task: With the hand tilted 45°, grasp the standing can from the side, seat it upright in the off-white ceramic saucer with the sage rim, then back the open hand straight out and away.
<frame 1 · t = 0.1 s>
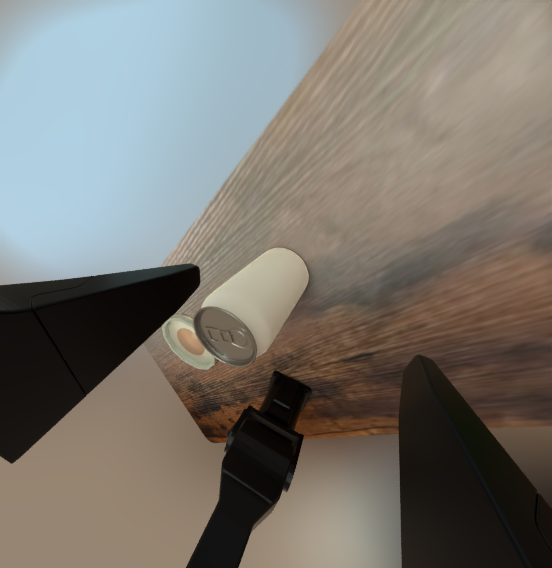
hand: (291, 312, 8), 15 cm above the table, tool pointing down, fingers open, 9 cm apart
can: (284, 271, 26), on the table
saucer: (192, 340, 41), on the table
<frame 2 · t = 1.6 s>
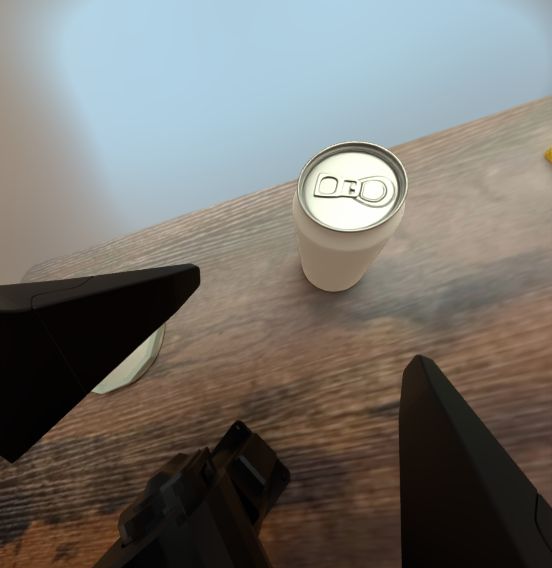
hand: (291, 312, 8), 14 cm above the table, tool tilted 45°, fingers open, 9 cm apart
can: (332, 263, 23), on the table
saucer: (118, 333, 25), on the table
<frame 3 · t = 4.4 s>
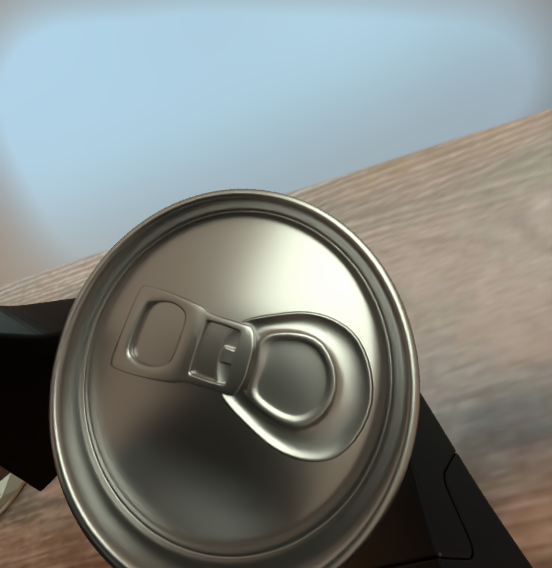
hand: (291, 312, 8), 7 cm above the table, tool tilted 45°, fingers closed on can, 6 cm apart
can: (292, 344, 15), on the table, touching gripper
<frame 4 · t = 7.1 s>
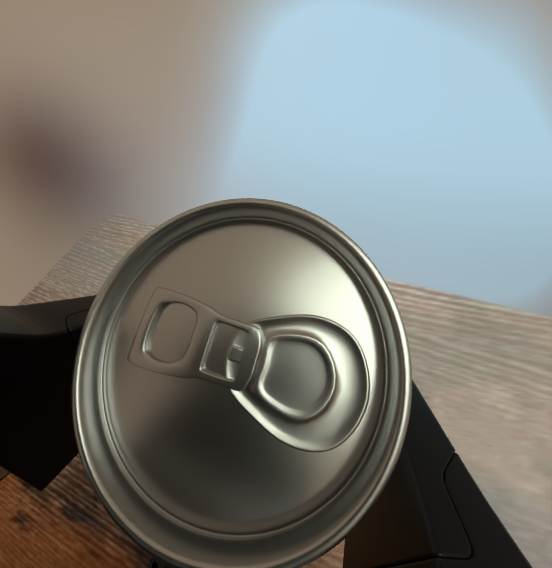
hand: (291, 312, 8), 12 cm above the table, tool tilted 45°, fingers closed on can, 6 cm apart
can: (293, 342, 15), point 5 cm above the table, touching gripper
when the fingers open (8 cm above the table, at t = 9.8 s): can stays where it is, resting on saucer.
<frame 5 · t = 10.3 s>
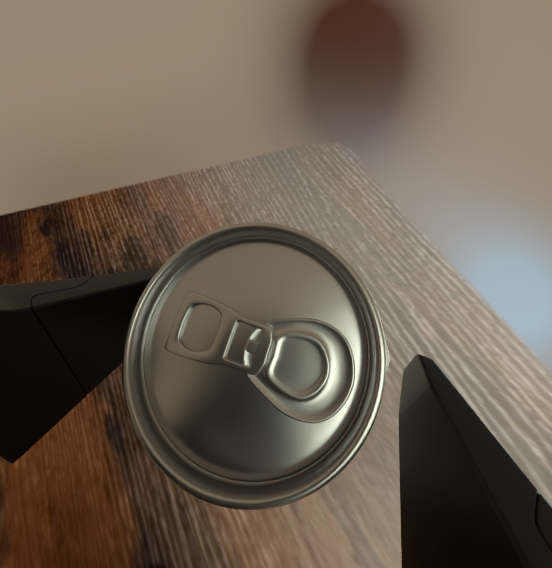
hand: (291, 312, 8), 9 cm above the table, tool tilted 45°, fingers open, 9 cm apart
can: (294, 341, 16), resting on saucer
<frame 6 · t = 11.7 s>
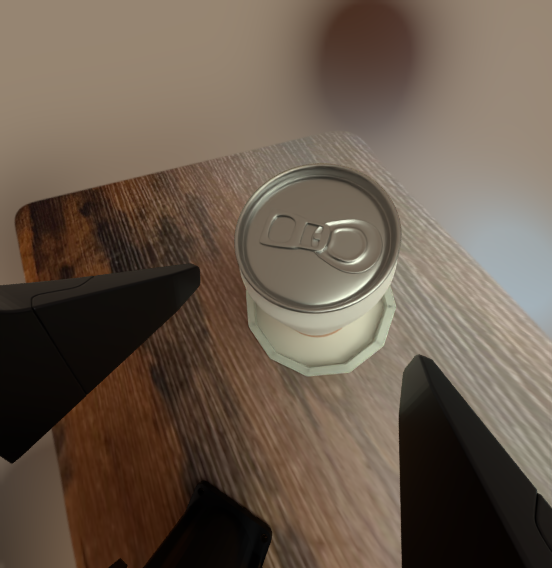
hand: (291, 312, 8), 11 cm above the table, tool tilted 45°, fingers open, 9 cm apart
can: (314, 298, 19), resting on saucer
saucer: (315, 300, 19), on the table
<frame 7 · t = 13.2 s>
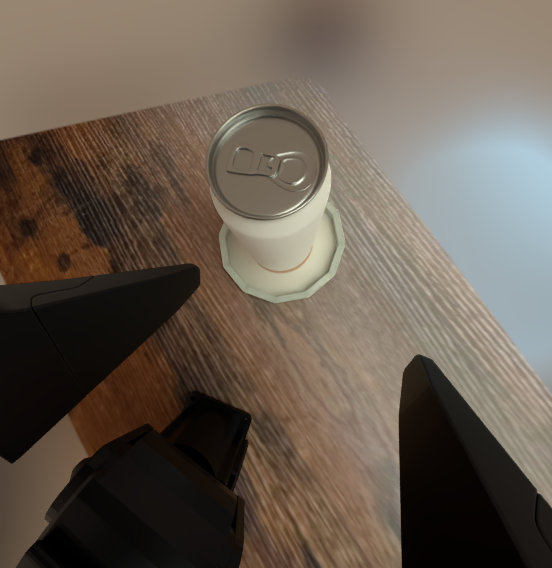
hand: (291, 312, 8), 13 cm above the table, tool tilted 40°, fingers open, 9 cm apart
can: (280, 240, 22), resting on saucer
saucer: (281, 243, 22), on the table
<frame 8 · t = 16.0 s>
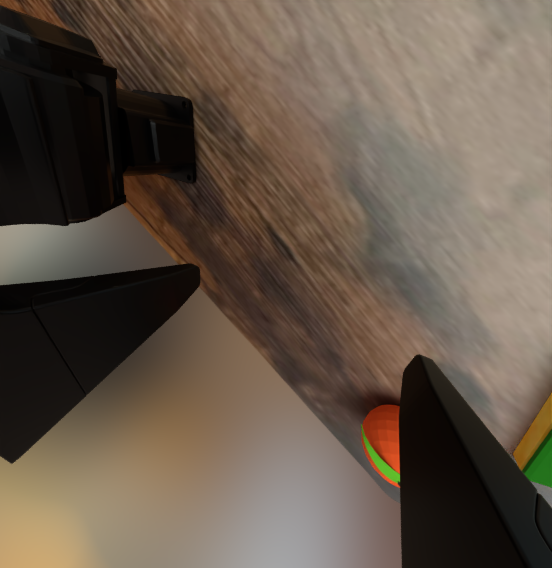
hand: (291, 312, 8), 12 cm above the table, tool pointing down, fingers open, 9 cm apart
clementine: (392, 407, 25), on the table
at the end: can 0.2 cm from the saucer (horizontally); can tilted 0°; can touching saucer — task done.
